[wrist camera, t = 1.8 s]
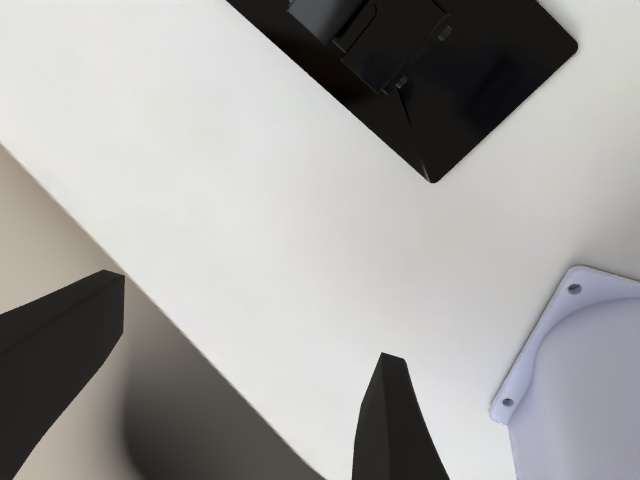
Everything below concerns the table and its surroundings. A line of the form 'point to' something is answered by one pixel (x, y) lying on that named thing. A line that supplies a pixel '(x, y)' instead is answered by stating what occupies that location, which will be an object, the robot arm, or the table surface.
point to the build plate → (420, 64)
